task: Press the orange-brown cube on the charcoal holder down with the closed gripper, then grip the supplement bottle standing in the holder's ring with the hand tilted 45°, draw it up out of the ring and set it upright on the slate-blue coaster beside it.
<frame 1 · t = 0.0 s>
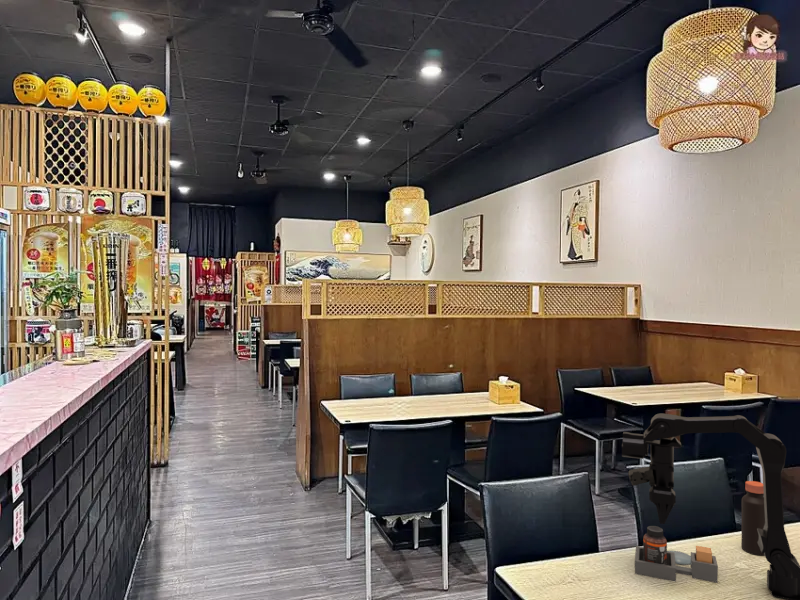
hand: (661, 517, 152), 15 cm above the table, tool pointing down, fingers open, 9 cm apart
orange-brown cube: (703, 556, 149), point 5 cm above the table, slide at 0.0 cm
vinegar: (754, 551, 164), on the table
coaster: (677, 558, 159), on the table
holder: (654, 569, 153), on the table
supplement bottle: (654, 570, 153), resting in holder
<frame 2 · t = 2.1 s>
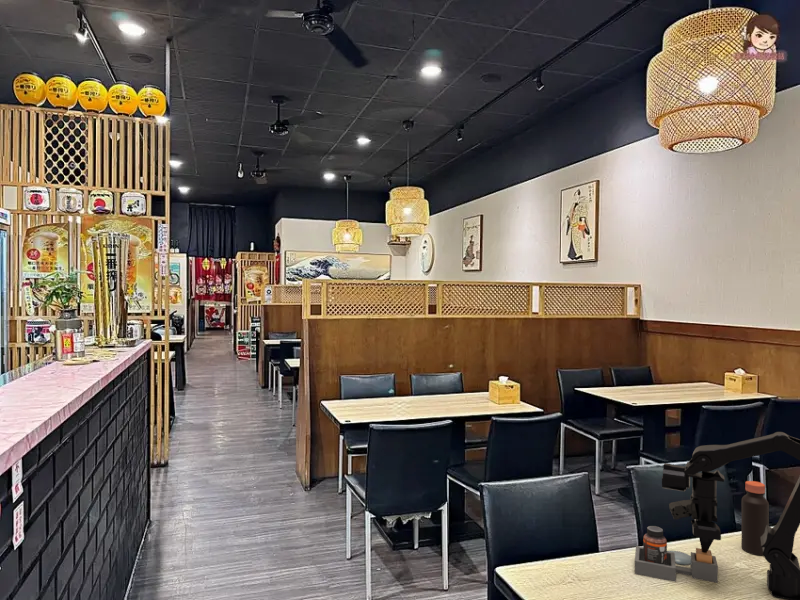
hand: (704, 552, 149), 6 cm above the table, tool pointing down, fingers closed, pressing on orange-brown cube
orange-brown cube: (703, 559, 149), point 4 cm above the table, slide at 0.7 cm, touching gripper
everything else where it was.
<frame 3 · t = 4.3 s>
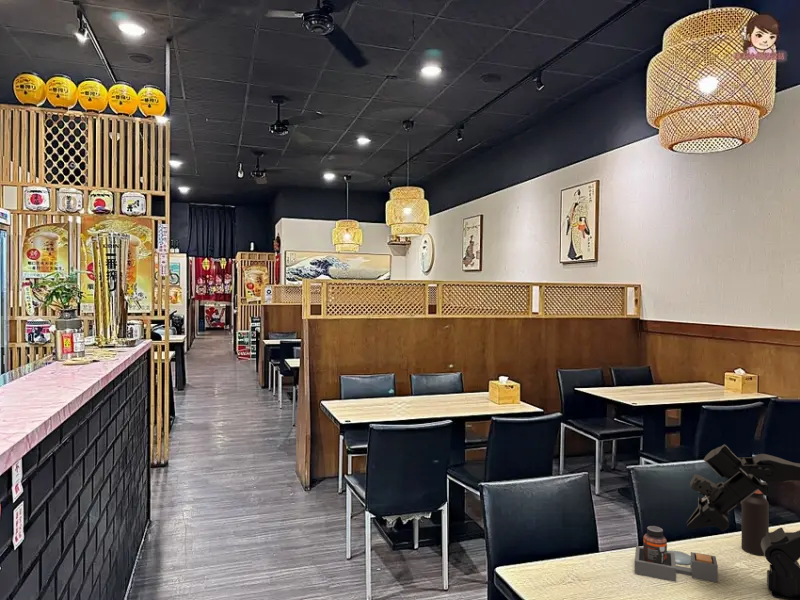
hand: (688, 526, 149), 13 cm above the table, tool tilted 45°, fingers closed
orange-brown cube: (703, 564, 149), point 3 cm above the table, slide at 2.2 cm
everything else where it was.
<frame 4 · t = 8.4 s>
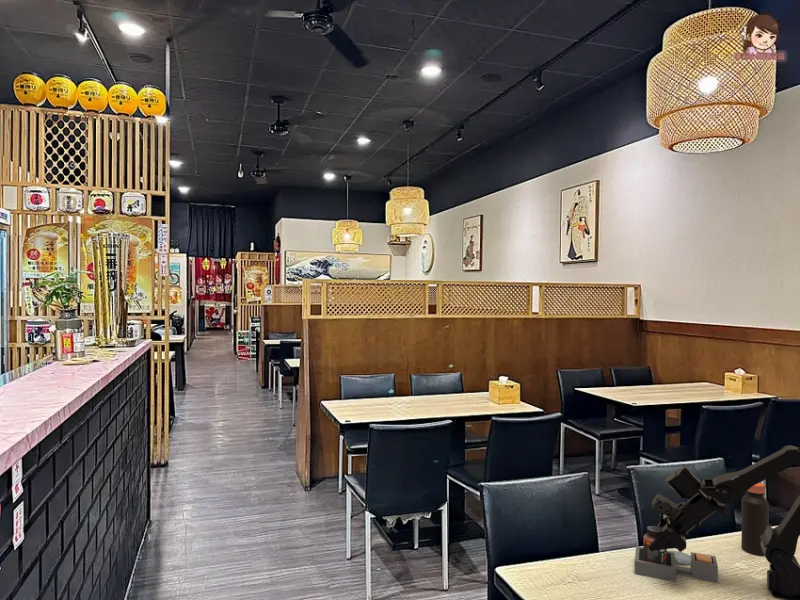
hand: (649, 544, 153), 7 cm above the table, tool tilted 45°, fingers closed on supplement bottle, 6 cm apart
supplement bottle: (654, 570, 153), resting in holder, touching gripper
everything else where it was.
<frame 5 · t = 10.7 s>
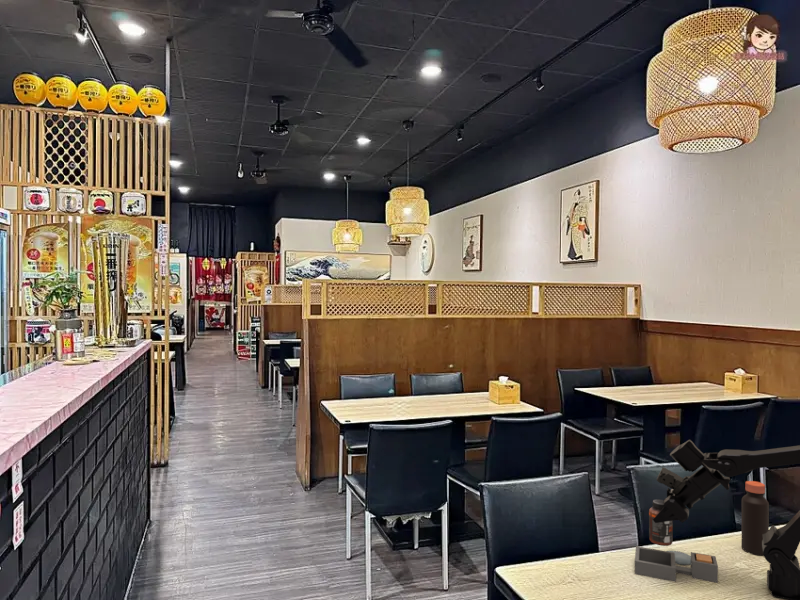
hand: (655, 517, 155), 13 cm above the table, tool tilted 45°, fingers closed on supplement bottle, 6 cm apart
supplement bottle: (660, 542, 155), point 6 cm above the table, touching gripper
everything else where it was.
when the fingers open (8 cm above the table, at t = 13.2 s): supplement bottle drops 1 cm, resting on coaster.
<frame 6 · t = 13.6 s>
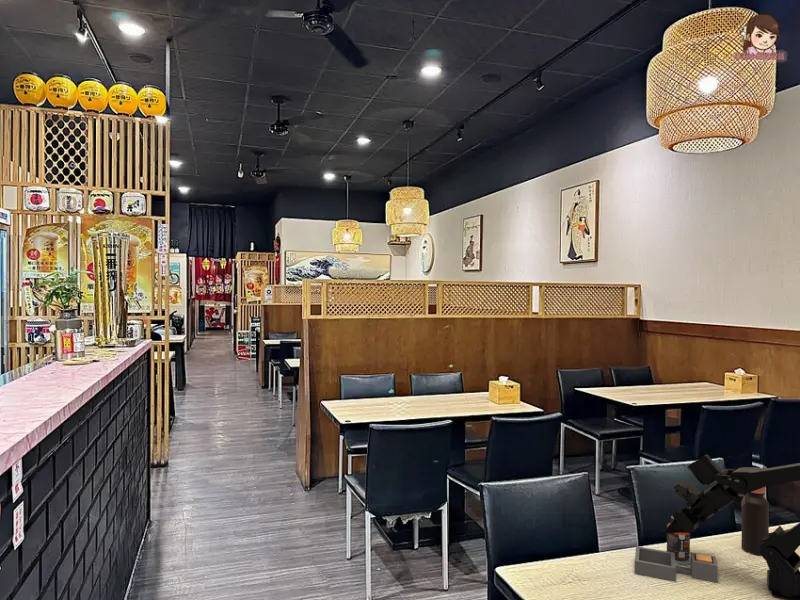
hand: (672, 527, 160), 9 cm above the table, tool tilted 45°, fingers open, 9 cm apart
supplement bottle: (678, 557, 159), resting on coaster
everything else where it was.
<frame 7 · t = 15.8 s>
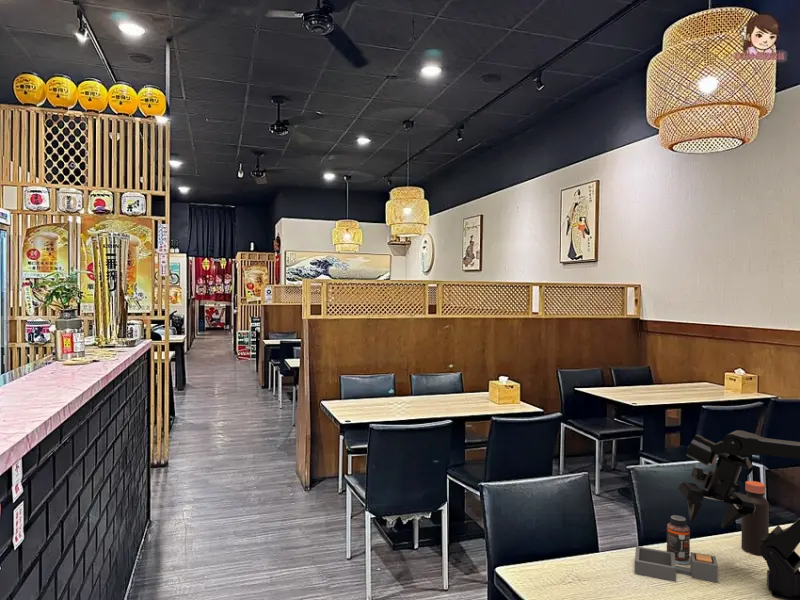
hand: (706, 523, 154), 12 cm above the table, tool tilted 20°, fingers open, 9 cm apart
nothing on the table moved.
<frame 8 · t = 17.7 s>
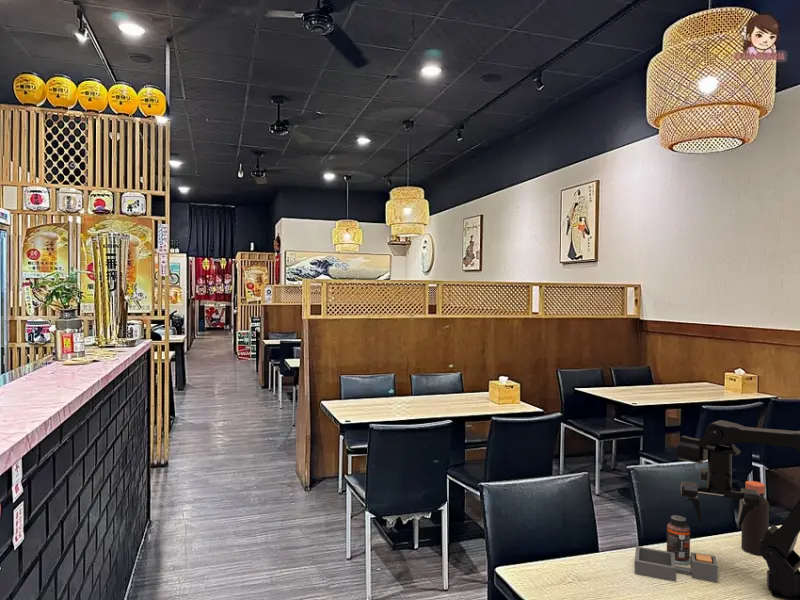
hand: (719, 524, 151), 13 cm above the table, tool pointing down, fingers open, 9 cm apart
nothing on the table moved.
at the end: orange-brown cube slide at 2.2 cm; supplement bottle 0.1 cm from the coaster (horizontally); supplement bottle tilted 0° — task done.
